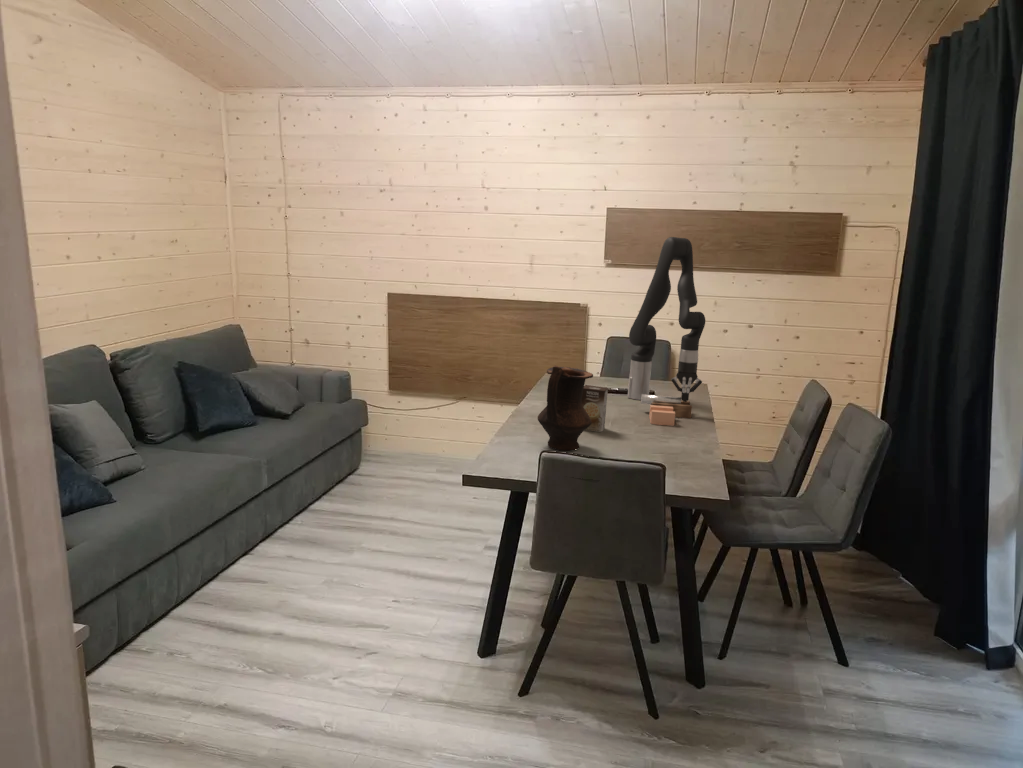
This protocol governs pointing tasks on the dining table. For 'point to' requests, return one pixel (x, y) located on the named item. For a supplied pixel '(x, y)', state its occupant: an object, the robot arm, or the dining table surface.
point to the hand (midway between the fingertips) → (684, 401)
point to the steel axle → (659, 399)
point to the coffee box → (595, 406)
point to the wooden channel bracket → (679, 408)
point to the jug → (565, 408)
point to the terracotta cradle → (662, 415)
